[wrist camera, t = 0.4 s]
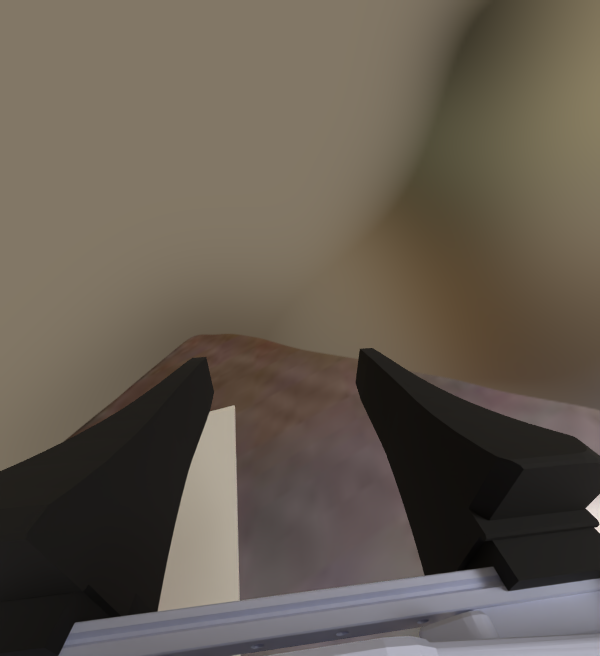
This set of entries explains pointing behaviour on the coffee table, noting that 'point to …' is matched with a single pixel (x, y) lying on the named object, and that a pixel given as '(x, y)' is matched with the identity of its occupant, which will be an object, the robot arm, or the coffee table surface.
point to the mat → (206, 523)
